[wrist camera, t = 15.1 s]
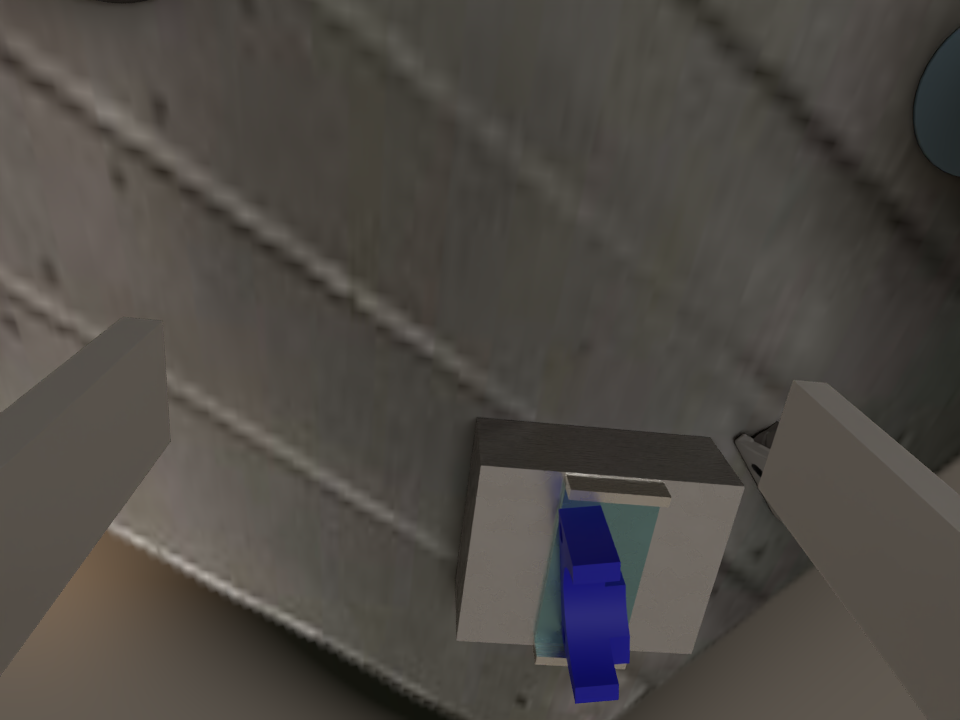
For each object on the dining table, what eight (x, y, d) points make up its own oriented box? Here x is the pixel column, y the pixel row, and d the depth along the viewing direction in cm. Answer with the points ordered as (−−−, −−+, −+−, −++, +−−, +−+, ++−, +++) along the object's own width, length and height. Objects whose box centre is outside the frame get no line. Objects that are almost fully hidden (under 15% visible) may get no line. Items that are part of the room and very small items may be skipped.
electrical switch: (729, 435, 55) (793, 496, 47) (785, 401, 55) (860, 457, 46) (772, 515, 59) (838, 586, 50) (825, 484, 58) (902, 550, 50)
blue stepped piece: (619, 632, 53) (639, 697, 48) (562, 637, 53) (575, 703, 48) (621, 503, 48) (644, 559, 43) (558, 508, 48) (572, 566, 43)
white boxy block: (455, 578, 60) (456, 661, 52) (476, 417, 54) (482, 481, 45) (665, 592, 62) (699, 674, 53) (710, 437, 55) (756, 503, 47)
